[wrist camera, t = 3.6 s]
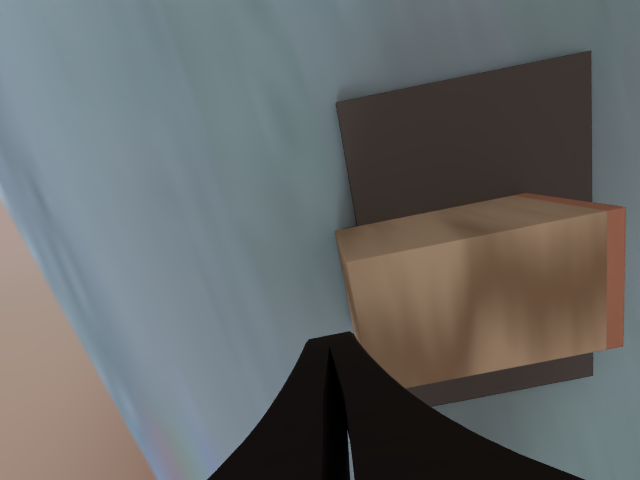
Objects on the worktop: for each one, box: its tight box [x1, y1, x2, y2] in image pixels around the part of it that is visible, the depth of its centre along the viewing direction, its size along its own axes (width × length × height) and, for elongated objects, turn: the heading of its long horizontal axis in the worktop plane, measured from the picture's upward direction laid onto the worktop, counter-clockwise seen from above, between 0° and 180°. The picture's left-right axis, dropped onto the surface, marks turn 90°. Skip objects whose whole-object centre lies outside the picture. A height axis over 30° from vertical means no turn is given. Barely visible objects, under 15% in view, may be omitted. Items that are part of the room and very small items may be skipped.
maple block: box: [335, 193, 626, 388], centre depth 14 cm, size 5×5×9 cm
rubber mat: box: [336, 51, 593, 407], centre depth 16 cm, size 16×11×1 cm
